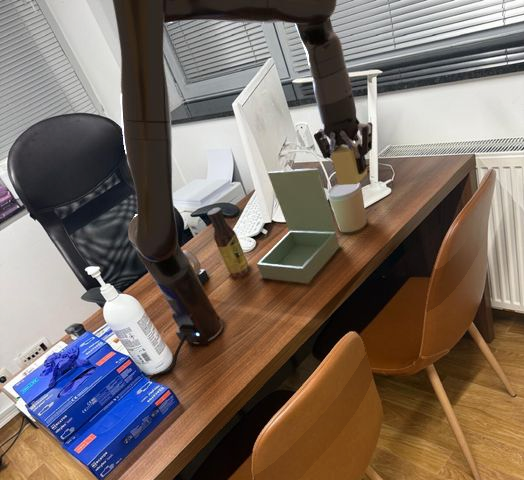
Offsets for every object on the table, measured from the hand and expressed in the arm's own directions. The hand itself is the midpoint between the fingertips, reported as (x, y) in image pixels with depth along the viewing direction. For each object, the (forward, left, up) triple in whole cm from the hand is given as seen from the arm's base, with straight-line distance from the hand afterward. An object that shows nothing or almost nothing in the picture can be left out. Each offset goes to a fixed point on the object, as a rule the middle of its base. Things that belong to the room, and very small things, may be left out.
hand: (351, 172), depth 105 cm
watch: (-13, +50, -22) cm, 56 cm away
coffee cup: (+13, +9, -22) cm, 27 cm away
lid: (+2, +16, -7) cm, 18 cm away
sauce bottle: (-8, +37, -22) cm, 44 cm away
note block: (0, 0, -2) cm, 2 cm away
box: (-5, +18, -21) cm, 28 cm away
